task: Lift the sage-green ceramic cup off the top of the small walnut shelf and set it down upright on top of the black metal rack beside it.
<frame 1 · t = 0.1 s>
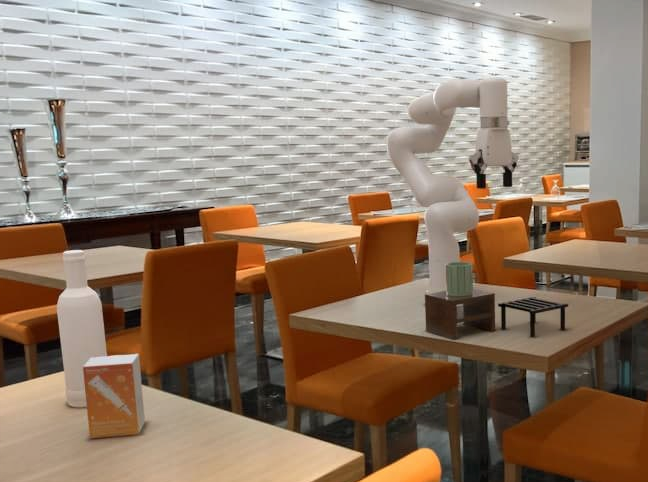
hand: (494, 187, 208), 37 cm above the table, tool pointing down, fingers open, 9 cm apart
bottle: (90, 402, 149), on the table
small box: (118, 431, 132), on the table
shelf: (460, 330, 199), on the table
cup: (459, 293, 197), point 10 cm above the table, touching shelf
rack: (532, 329, 199), on the table
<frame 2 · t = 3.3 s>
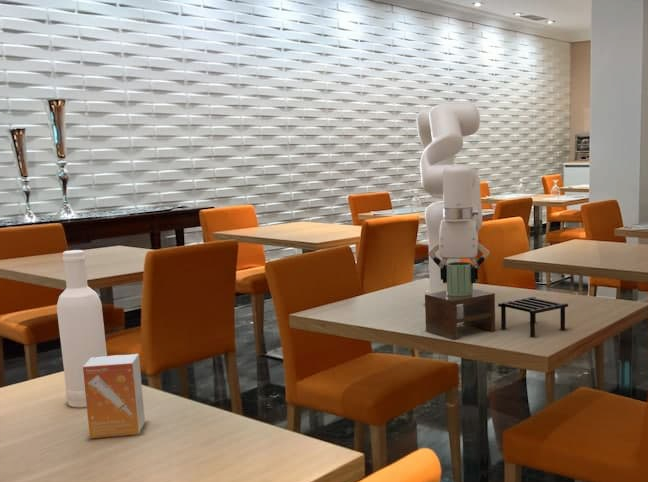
hand: (459, 281, 197), 13 cm above the table, tool pointing down, fingers closed on cup, 7 cm apart
cup: (459, 293, 197), point 10 cm above the table, touching gripper, shelf
everything else where it was.
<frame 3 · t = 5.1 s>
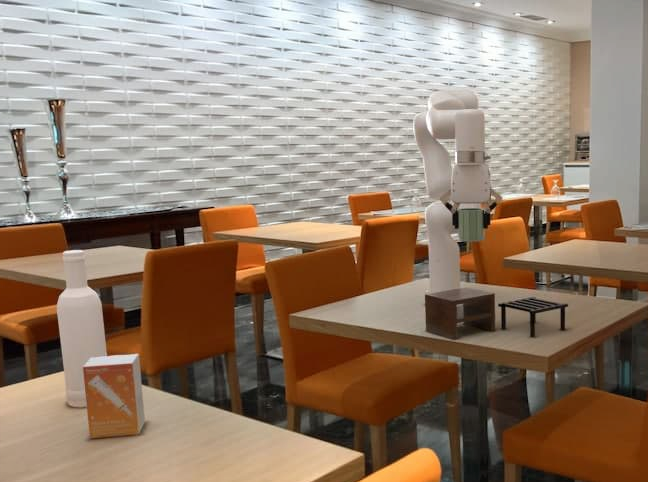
hand: (471, 227, 194), 27 cm above the table, tool pointing down, fingers closed on cup, 7 cm apart
cup: (471, 240, 195), point 24 cm above the table, touching gripper
everything else where it was.
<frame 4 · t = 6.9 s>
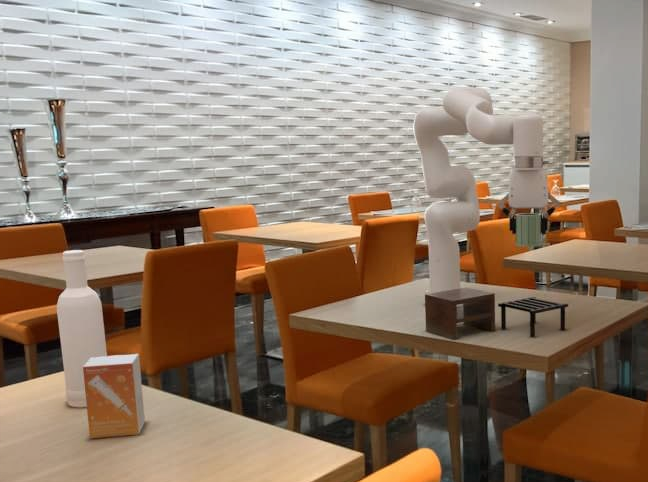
hand: (528, 232, 194), 26 cm above the table, tool pointing down, fingers closed on cup, 7 cm apart
cup: (528, 245, 195), point 23 cm above the table, touching gripper
everything else where it was.
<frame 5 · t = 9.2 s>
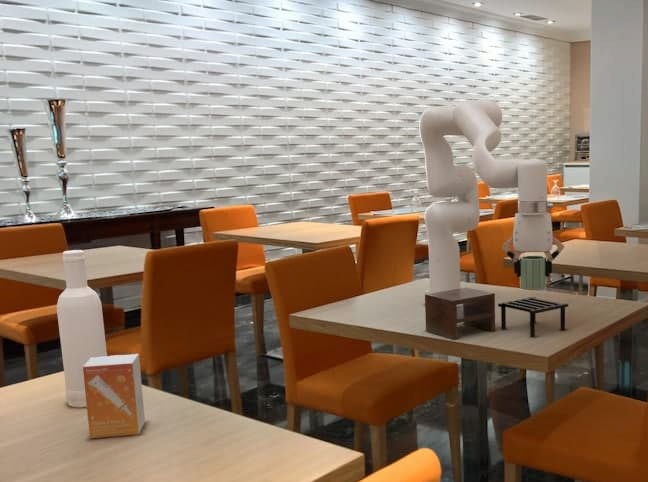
hand: (533, 275, 196), 14 cm above the table, tool pointing down, fingers closed on cup, 7 cm apart
cup: (533, 287, 197), point 11 cm above the table, touching gripper
everything else where it was.
when the fingers open (10 cm above the table, at t = 10.9 s): cup stays where it is, resting on rack.
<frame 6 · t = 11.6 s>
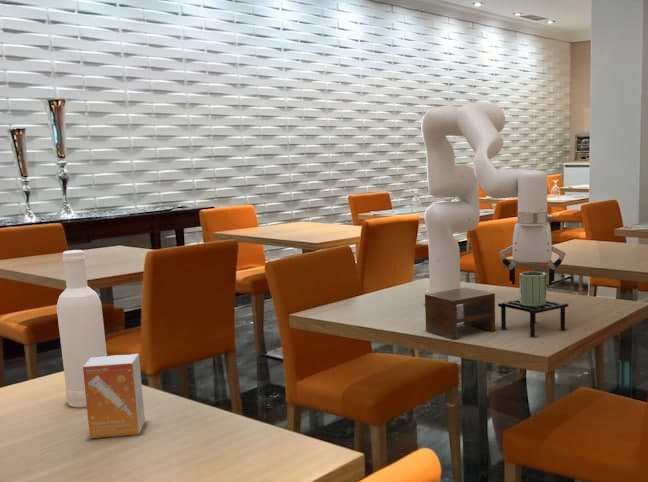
hand: (531, 283, 197), 12 cm above the table, tool pointing down, fingers open, 9 cm apart
cup: (533, 303, 197), point 7 cm above the table, touching rack
everything else where it was.
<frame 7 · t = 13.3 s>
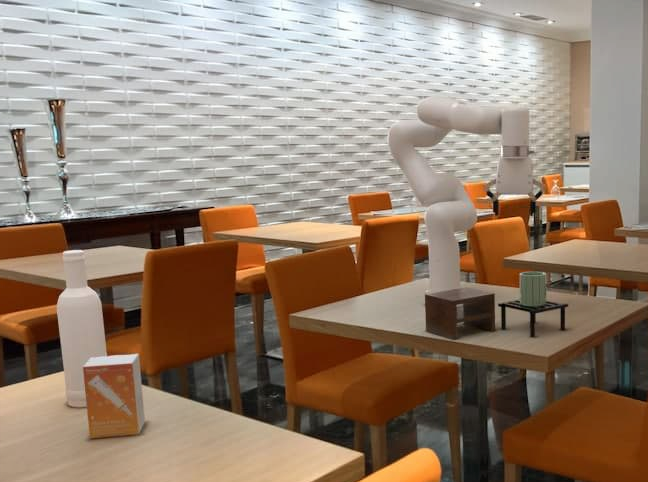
hand: (514, 215, 208), 29 cm above the table, tool pointing down, fingers open, 9 cm apart
nothing on the table moved.
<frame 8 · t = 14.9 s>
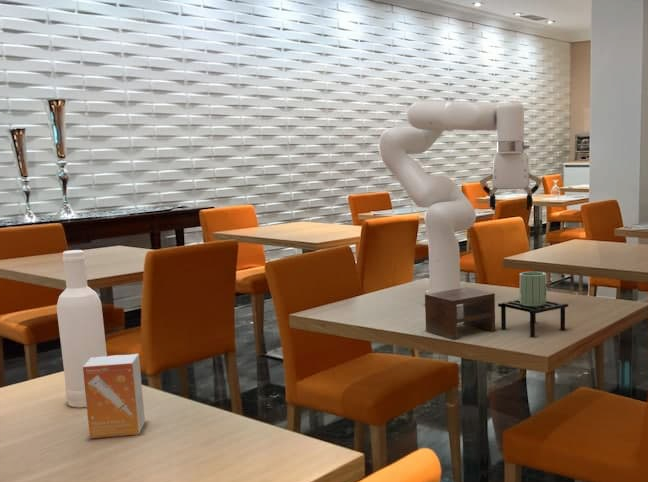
hand: (510, 209, 211), 30 cm above the table, tool pointing down, fingers open, 9 cm apart
nothing on the table moved.
at the end: cup inside the target area on the rack (0.1 cm from its centre), point 7.0 cm above the rack's base; cup tilted 0°; the gripper is holding nothing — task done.
